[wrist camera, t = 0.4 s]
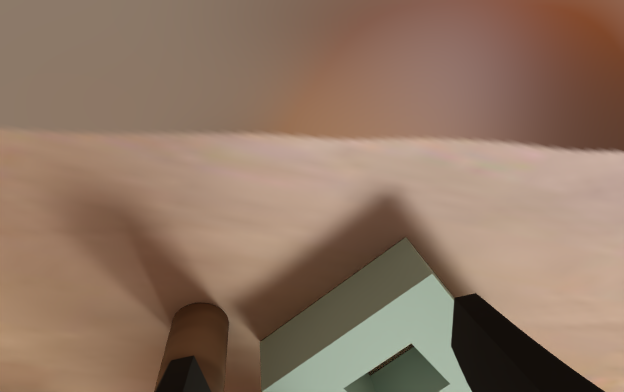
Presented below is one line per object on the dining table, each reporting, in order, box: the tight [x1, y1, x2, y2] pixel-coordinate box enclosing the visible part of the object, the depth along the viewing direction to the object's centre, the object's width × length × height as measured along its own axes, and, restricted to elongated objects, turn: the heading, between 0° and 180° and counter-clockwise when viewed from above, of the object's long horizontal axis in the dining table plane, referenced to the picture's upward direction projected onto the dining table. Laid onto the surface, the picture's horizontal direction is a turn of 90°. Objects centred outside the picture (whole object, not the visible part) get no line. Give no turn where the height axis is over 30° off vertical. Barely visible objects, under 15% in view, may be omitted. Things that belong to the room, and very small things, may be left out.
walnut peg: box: [154, 303, 229, 392], centre depth 19 cm, size 3×3×8 cm
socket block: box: [260, 237, 472, 392], centre depth 23 cm, size 11×11×4 cm
